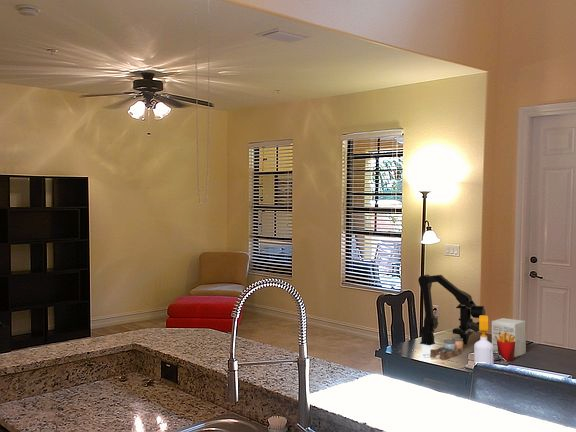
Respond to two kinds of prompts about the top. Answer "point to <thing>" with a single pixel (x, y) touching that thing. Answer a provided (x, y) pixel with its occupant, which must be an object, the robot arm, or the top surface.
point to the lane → (444, 355)
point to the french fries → (506, 346)
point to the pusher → (445, 349)
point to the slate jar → (449, 344)
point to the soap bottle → (483, 343)
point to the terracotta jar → (458, 343)
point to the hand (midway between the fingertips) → (465, 344)
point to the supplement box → (510, 327)
